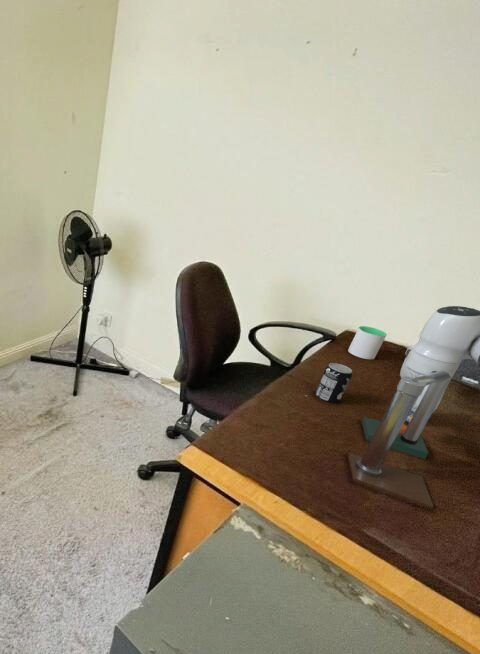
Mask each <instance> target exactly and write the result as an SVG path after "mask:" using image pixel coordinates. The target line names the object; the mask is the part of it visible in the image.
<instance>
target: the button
mask: <svg viewBox="0 0 480 654" xmlns="http://www.w3.org/2000/svg"><path fill="white" fill-rule="evenodd" d="M407 426H408V425H406V424H405V423H404V425H403V426H402V428H401V430H400V432H399V433H401V434H403V433H404V432H405V430H406V428H407Z"/></svg>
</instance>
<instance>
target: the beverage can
mask: <svg viewBox="0 0 480 654" xmlns="http://www.w3.org/2000/svg"><path fill="white" fill-rule="evenodd" d="M352 373H353V370H352V369H351V368H350V367H348V366H346V365H345V364H341V363H337V362H330V363H329V364H328V365H327V366H325V368H324V370H323V372H322V375H321V377H320V379H319V381H318V383H317V386H316V387H315V390H314V395H315V396H316V397H317V398H318V399H320V400H321V401H324V402H327V403H329V404H337V403H340V401H341V400H342V397H343V395H344V393H345V391H346V389H347V387H348V385H349V383H350V381H351V380H352V377H353V374H352Z"/></svg>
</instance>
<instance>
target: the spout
mask: <svg viewBox="0 0 480 654" xmlns="http://www.w3.org/2000/svg"><path fill="white" fill-rule="evenodd" d="M451 380H453V377H451V376H450V375H449V373H447V372H445V371H439V372H435V373H431V374H428V375H424V376H420V377H416V378H413V377H407V376H404V377H402V378H401V377H400V380H399V382H398V383H397V386H396V390H397V389H398V390H399V391H401V392H403V393H405V394H408V395H412V396H420V395H421V394H422V392H423V390H424V388H425V386H427V385H429V387H428V389H427V391H426V393H425V395H424V397H423V398H422V400H421V402H420V404H419V406H418V408H417V409H416V411H415V413H414V415H413V417H412V419H411V421H410V422H408V424H407V425H406V426H407V428H406V430H405V432H404V433H403V434H402V435H401V437H400V439H401V440H402V441H404V442H406V443H408V444H412V445H415V444H416V443H417V442H418V440H417V439H418V437H419V436H420V434H422V432H423V430H424V428H425V427H426V425H427V424H428V421H429V419H430V418H431V416H432V414H433V413H434V412H435V411H434V409H435V407H436V405H437V404H438V402H439V400H440V398H441V397H442V395H443V393H444V394H445V392H446V389H447V388H448V386H449V385H450V382H451ZM444 391H445V392H444ZM443 396H444V395H443ZM442 398H443V397H442ZM433 411H434V412H433Z"/></svg>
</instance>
